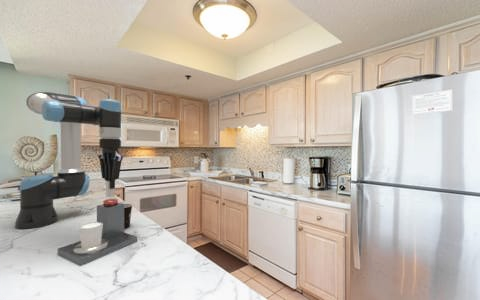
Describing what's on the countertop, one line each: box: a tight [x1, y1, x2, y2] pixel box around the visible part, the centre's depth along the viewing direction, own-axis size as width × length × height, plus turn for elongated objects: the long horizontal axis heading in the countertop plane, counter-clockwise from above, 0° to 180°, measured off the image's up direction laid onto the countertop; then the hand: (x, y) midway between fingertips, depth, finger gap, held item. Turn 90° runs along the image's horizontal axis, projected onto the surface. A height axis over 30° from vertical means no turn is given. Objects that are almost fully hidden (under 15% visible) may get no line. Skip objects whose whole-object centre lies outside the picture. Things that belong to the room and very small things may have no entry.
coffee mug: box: [123, 203, 133, 230], centre depth 102 cm, size 12×9×10 cm
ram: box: [102, 198, 119, 206], centre depth 88 cm, size 5×5×12 cm
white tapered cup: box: [79, 221, 103, 249], centre depth 76 cm, size 7×7×7 cm
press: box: [57, 202, 138, 266], centre depth 81 cm, size 15×20×14 cm
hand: (110, 196), depth 88 cm, fingers closed
